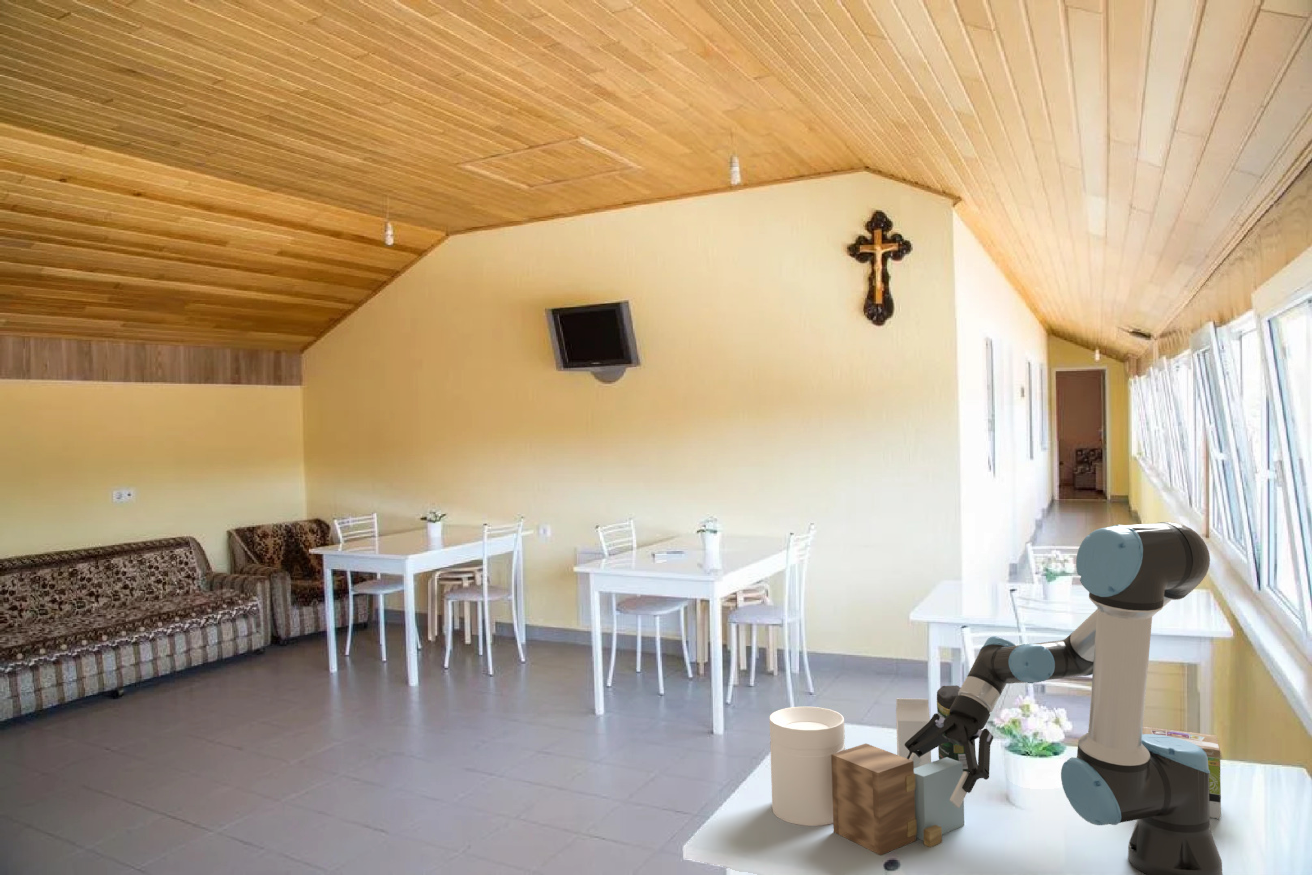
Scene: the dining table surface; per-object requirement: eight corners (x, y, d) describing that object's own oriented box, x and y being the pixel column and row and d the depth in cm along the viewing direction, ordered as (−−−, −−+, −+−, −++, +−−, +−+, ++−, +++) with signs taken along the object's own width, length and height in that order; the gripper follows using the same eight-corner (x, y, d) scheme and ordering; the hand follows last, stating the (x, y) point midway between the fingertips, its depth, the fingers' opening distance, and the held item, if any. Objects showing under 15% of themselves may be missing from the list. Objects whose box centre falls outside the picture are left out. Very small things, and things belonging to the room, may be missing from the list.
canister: (789, 789, 211) (786, 702, 211) (857, 802, 203) (854, 712, 202) (760, 816, 197) (757, 723, 197) (831, 831, 189) (828, 734, 189)
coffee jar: (934, 758, 227) (932, 683, 227) (966, 757, 227) (964, 682, 227) (947, 773, 217) (944, 694, 217) (980, 772, 217) (978, 693, 217)
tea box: (1138, 808, 195) (1137, 738, 195) (1139, 790, 204) (1137, 724, 204) (1222, 820, 188) (1220, 748, 188) (1218, 801, 197) (1217, 732, 197)
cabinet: (941, 842, 183) (939, 761, 182) (894, 862, 175) (892, 778, 175) (879, 814, 196) (877, 739, 196) (833, 831, 189) (831, 754, 189)
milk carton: (931, 787, 210) (929, 703, 209) (899, 785, 211) (897, 703, 211) (929, 775, 217) (926, 694, 216) (897, 773, 218) (895, 693, 218)
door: (964, 825, 190) (962, 762, 190) (925, 841, 183) (923, 776, 183) (948, 818, 193) (946, 756, 193) (909, 834, 187) (907, 770, 186)
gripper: (1033, 729, 186) (988, 823, 178) (936, 700, 207) (890, 784, 199) (1016, 708, 183) (969, 803, 175) (919, 681, 204) (872, 765, 196)
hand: (927, 793), depth 187 cm, fingers open, 12 cm apart
